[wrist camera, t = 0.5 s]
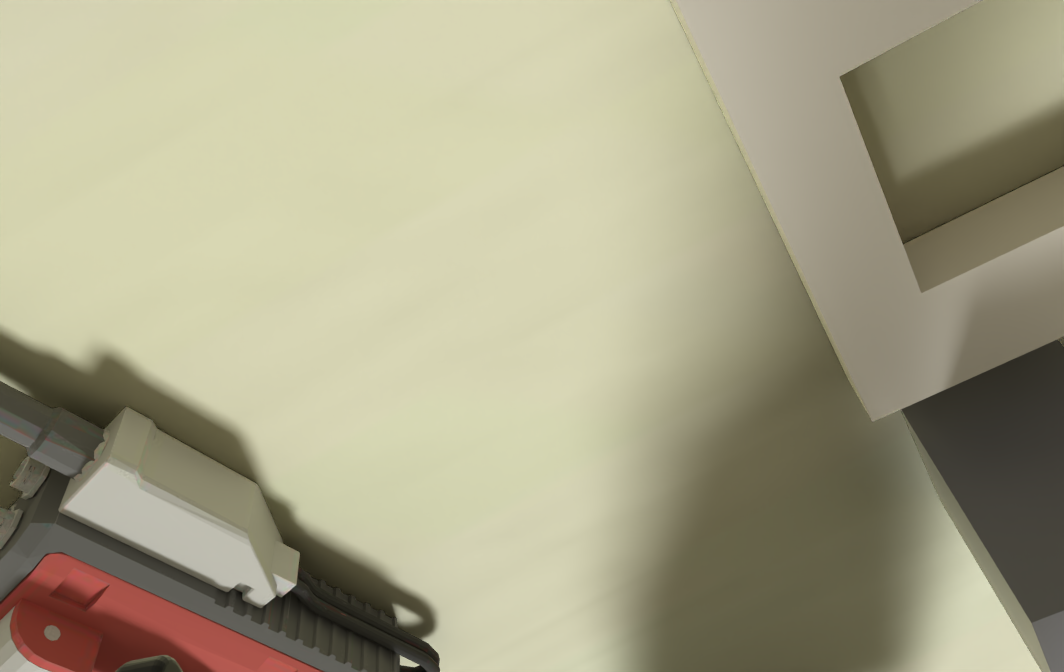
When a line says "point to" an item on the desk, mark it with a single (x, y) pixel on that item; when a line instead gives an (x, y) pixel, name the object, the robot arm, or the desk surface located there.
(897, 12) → the socket plate
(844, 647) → the desk surface
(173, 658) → the robot arm
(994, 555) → the charger
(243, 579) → the red-grey gadget
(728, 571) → the desk surface
